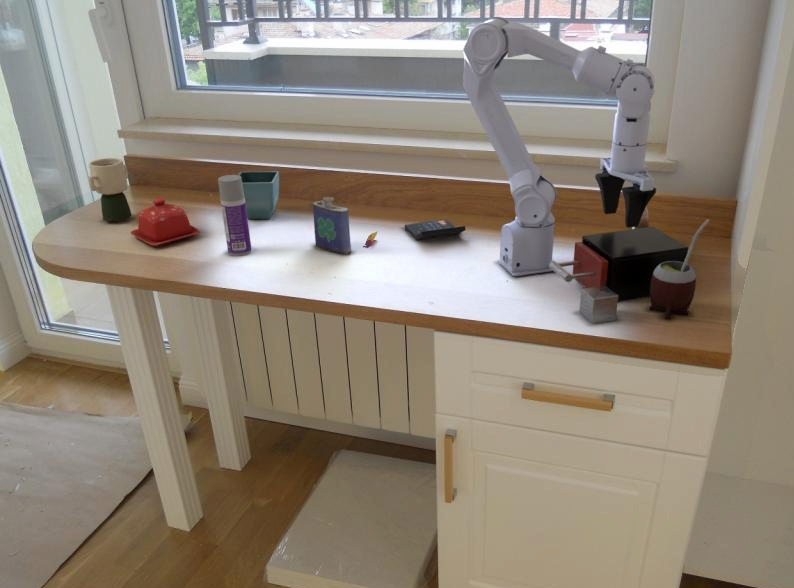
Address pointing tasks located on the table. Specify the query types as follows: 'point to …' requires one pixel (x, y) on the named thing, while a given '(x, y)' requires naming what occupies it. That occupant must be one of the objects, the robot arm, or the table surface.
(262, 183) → the flower pot
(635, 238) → the black storage chest
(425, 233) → the calculator
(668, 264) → the mate gourd
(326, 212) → the flask
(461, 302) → the table surface
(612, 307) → the steel block
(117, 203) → the character mug
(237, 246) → the container
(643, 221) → the tin
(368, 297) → the table surface
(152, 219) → the butter dish
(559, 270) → the drawer
